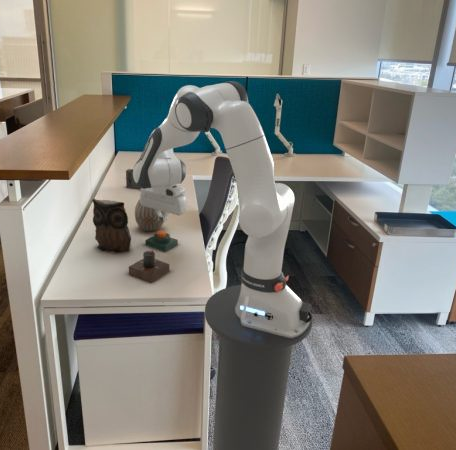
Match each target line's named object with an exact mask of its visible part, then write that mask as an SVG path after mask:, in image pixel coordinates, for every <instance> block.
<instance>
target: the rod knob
mask: <svg viewBox="0 0 456 450" xmlns="http://www.w3.org/2000/svg"><path fill="white" fill-rule="evenodd" d="M142 259H143V265H144V267H147V268H151V267H154V266H155V259H156V253H155V251H154V250H145V251H144V252H142Z"/></svg>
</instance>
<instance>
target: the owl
mask: <svg viewBox="0 0 456 450" xmlns="http://www.w3.org/2000/svg"><path fill="white" fill-rule="evenodd" d="M92 203H93V209H92V213H93V217H92V223H93V225H94V227H95V235H94V239H95V241H97V243H98V246H97V249H98V250H99V251H101V252H108V253H115V254H116V253H117V254H118V253H120V254H121V253H124V252H130V249H131V248H130V247H131V243H132V236H131V233H130V229H129V226H128V223H129V216H128V213H127V212H126V211H127V210H126V208H125V202H123V201H117V200H110V199H96V198H93V199H92Z"/></svg>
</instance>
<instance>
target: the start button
mask: <svg viewBox="0 0 456 450" xmlns="http://www.w3.org/2000/svg"><path fill="white" fill-rule="evenodd" d="M156 233H157V237H159V238H164V237H166V233H167V232H166V230H157V232H156Z"/></svg>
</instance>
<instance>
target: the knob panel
mask: <svg viewBox="0 0 456 450" xmlns="http://www.w3.org/2000/svg"><path fill="white" fill-rule="evenodd" d="M169 272H170V263H168V262H165V261H162V260H159V259H157V258H155V266H154V267H151V268H147V267H144V265H143V258H142V259H140V260H138V261H137V262H135V263H132V264H130V265H129V266H128V275H130V276H132V277H135V278H138V279H141V280H142V281H145V282H148V283H153V282H155V281H156V280H158V279H160V278H162V277H163V276H164V275H166V274H168V273H169Z"/></svg>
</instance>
